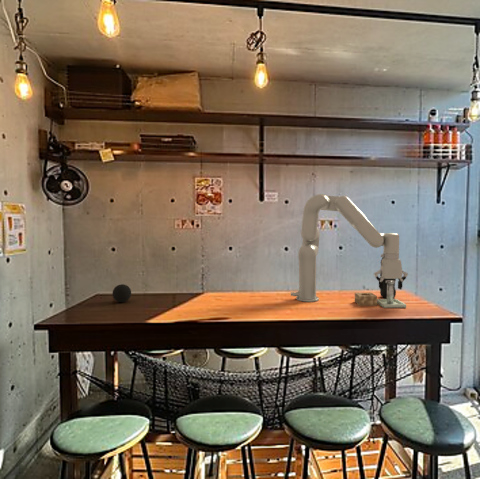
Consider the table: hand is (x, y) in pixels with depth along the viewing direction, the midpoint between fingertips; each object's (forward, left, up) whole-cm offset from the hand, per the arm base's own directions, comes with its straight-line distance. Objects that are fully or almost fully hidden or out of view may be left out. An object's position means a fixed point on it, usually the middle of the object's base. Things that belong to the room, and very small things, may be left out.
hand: (390, 289), depth 192 cm
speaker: (-145, +7, -9) cm, 146 cm away
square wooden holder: (-12, +3, -8) cm, 15 cm away
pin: (0, 0, -8) cm, 8 cm away
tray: (0, 0, -8) cm, 8 cm away
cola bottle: (+6, +18, -9) cm, 21 cm away
